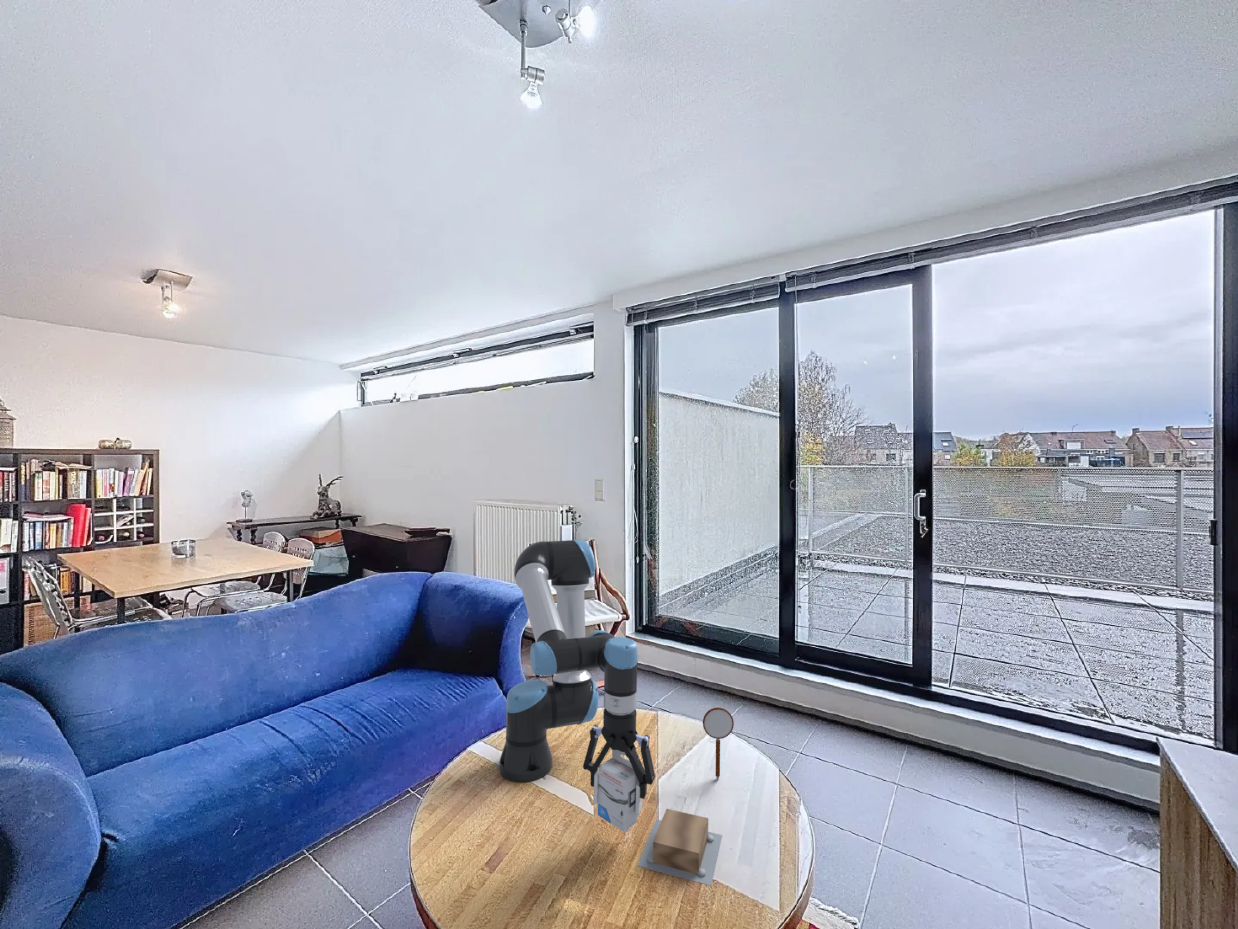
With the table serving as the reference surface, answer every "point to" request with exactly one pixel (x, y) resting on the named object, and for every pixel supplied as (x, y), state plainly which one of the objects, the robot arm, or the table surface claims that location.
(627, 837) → the table surface
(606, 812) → the ink box
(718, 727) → the magnifying glass
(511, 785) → the table surface
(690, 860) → the base brick
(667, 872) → the plate
